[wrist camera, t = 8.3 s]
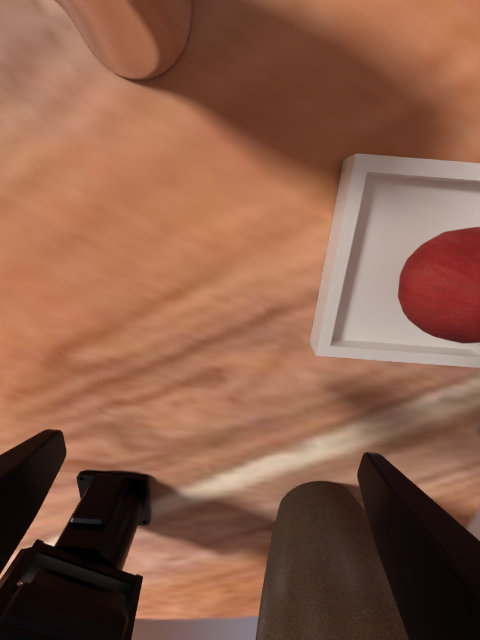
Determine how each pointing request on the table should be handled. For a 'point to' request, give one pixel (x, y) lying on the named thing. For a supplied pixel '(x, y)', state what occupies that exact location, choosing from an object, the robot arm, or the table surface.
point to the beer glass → (132, 33)
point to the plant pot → (325, 572)
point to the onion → (444, 286)
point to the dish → (389, 256)
